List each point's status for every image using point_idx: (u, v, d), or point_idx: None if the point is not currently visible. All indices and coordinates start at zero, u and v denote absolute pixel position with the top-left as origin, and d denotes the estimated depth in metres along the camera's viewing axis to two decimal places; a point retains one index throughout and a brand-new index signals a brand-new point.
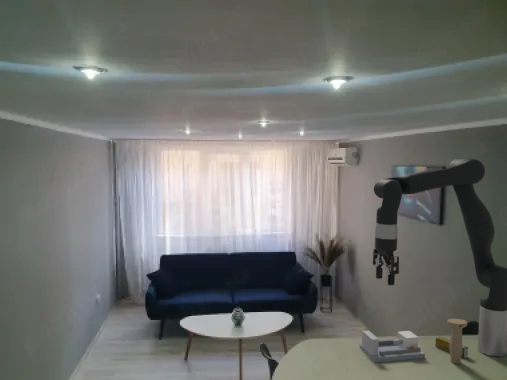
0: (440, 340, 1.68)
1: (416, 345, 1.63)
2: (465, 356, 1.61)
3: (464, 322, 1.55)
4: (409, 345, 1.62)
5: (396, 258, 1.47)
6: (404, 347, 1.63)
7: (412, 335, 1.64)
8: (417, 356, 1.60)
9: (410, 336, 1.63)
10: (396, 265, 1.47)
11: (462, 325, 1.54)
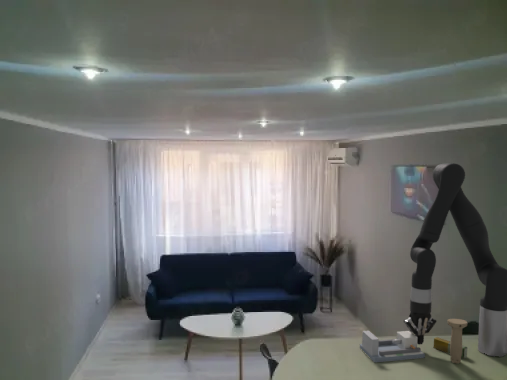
0: (438, 341, 1.67)
1: (415, 345, 1.63)
2: (465, 356, 1.61)
3: (464, 322, 1.55)
4: (408, 345, 1.62)
5: None
6: (403, 347, 1.63)
7: (411, 335, 1.64)
8: (417, 356, 1.60)
9: (409, 336, 1.63)
10: None
11: (462, 325, 1.54)
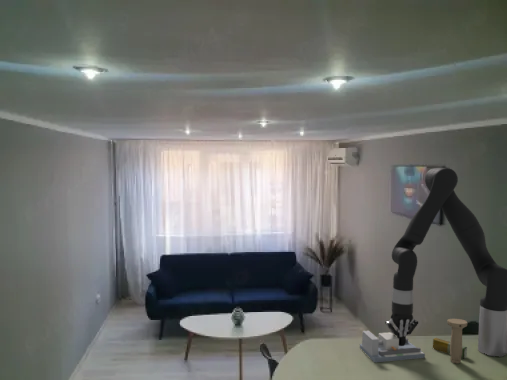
0: (438, 342, 1.67)
1: (397, 347, 1.61)
2: (465, 356, 1.60)
3: (464, 322, 1.55)
4: (389, 347, 1.61)
5: None
6: (384, 349, 1.61)
7: (392, 337, 1.62)
8: (417, 356, 1.60)
9: (391, 338, 1.62)
10: None
11: (462, 325, 1.54)
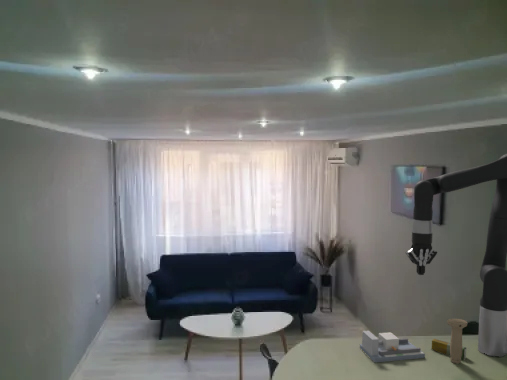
0: (437, 343, 1.66)
1: (397, 347, 1.61)
2: (465, 357, 1.60)
3: (464, 322, 1.55)
4: (389, 347, 1.61)
5: None
6: (384, 349, 1.61)
7: (392, 337, 1.62)
8: (417, 356, 1.60)
9: (391, 338, 1.62)
10: None
11: (462, 325, 1.54)
